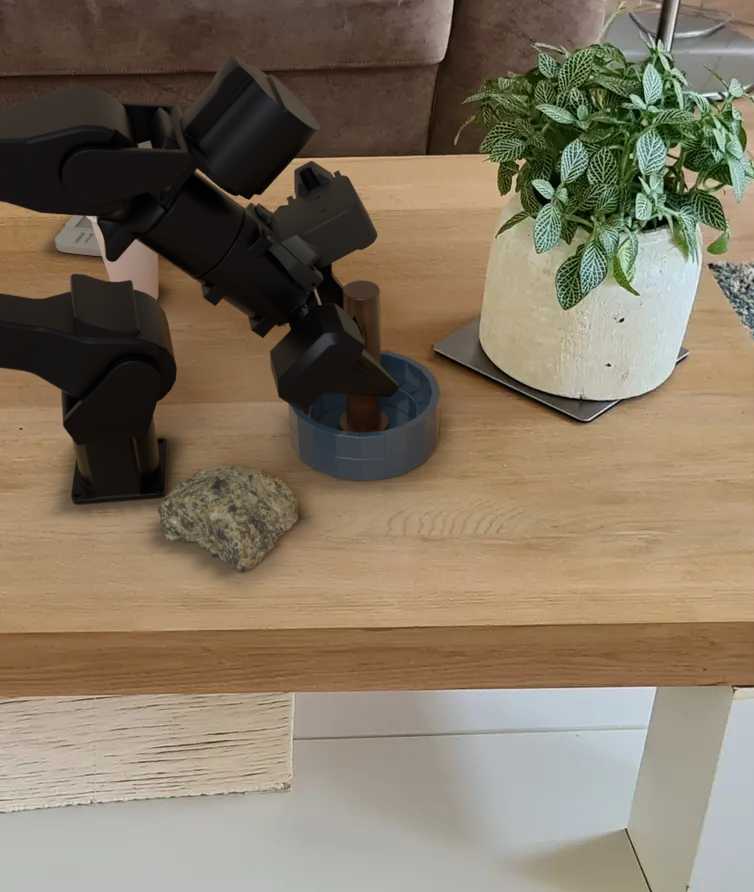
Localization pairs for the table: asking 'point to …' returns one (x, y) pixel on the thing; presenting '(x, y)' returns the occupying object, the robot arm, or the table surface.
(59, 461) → the table surface
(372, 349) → the brown wooden peg
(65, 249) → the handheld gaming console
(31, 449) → the table surface
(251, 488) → the rock
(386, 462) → the bowl
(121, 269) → the smoothie
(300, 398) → the robot arm
